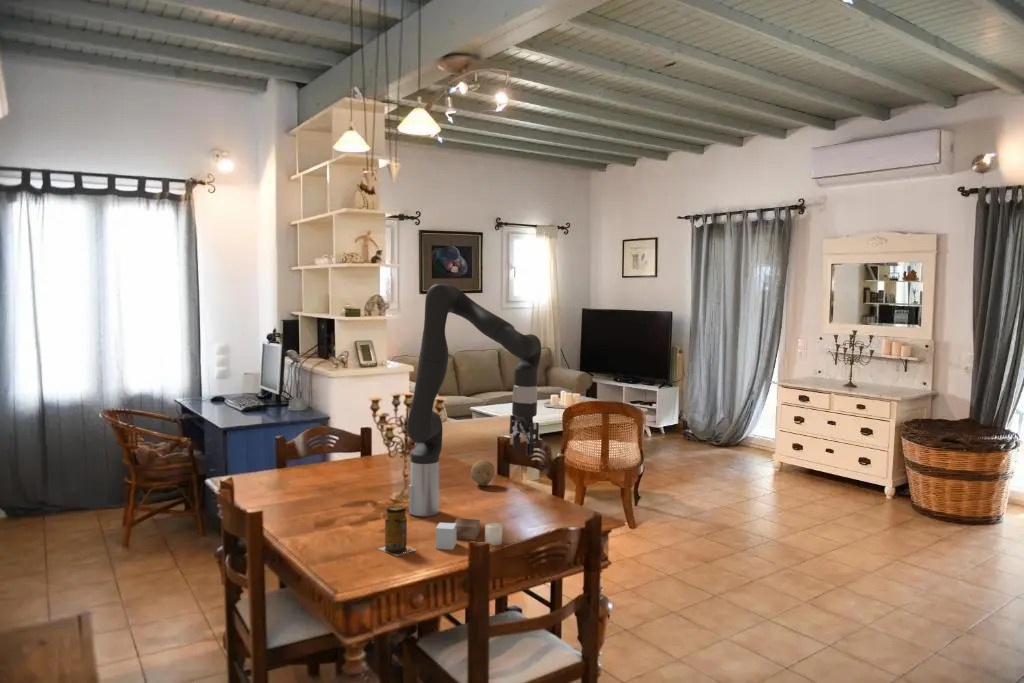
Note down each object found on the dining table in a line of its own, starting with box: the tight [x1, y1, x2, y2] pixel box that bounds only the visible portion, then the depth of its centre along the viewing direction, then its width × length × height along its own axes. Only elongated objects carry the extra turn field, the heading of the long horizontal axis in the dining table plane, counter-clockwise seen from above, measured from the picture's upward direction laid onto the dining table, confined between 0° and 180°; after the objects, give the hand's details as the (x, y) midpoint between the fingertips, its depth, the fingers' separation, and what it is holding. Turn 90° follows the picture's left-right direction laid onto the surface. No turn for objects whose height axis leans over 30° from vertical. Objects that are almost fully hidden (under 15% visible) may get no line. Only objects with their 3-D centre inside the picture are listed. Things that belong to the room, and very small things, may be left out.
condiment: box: [377, 504, 417, 557], centre depth 208 cm, size 7×8×12 cm
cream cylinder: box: [484, 522, 503, 546], centre depth 215 cm, size 5×5×5 cm
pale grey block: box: [435, 522, 457, 550], centre depth 211 cm, size 5×5×6 cm
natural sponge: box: [470, 459, 496, 487], centre depth 274 cm, size 9×9×10 cm
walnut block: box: [453, 518, 481, 541], centre depth 221 cm, size 7×7×4 cm
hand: (523, 452), depth 226 cm, fingers open, 8 cm apart
